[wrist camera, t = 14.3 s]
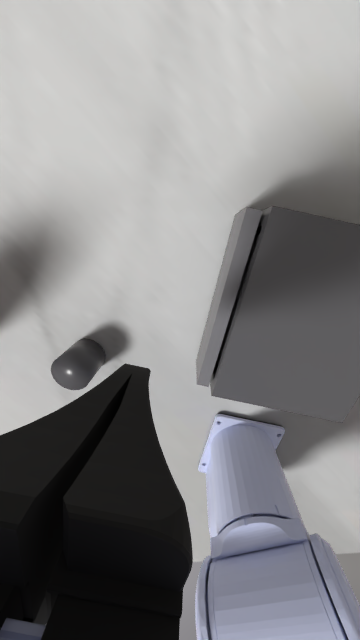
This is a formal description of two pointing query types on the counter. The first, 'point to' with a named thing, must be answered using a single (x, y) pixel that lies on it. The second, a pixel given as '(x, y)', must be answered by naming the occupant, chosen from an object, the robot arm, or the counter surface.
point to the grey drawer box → (297, 319)
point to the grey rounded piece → (78, 364)
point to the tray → (227, 291)
